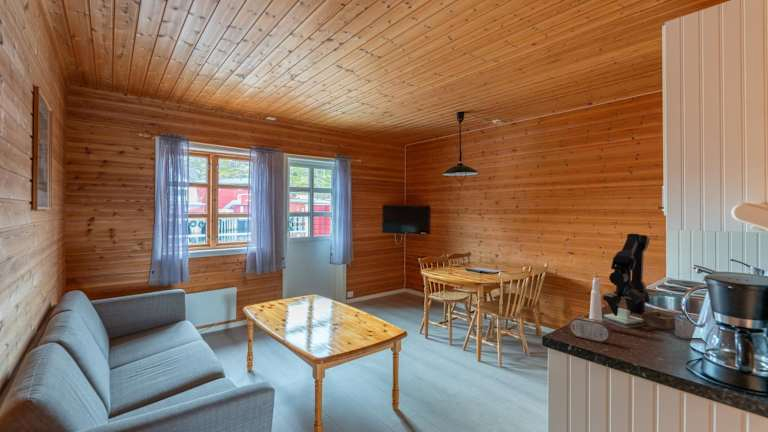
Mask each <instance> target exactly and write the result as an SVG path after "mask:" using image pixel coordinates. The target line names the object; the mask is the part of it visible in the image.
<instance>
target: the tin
mask: <svg viewBox="0 0 768 432" xmlns="http://www.w3.org/2000/svg"><path fill="white" fill-rule="evenodd" d="M568 327H569V331H570V332H571V334H573V336H575V337H577V338H579V337H580V339H583V338H584V339H583V340H587V339H588V341H592V342H596V341H597V343H606V342H608V341H610V339H611V338H612V335H613V330H612V329H611V326H610V325H609V324H608V323H607V322H606V321H603V320H602V321H600V320H594V319H589V317H584V316H574V317H572V319H571V320H570V322H569V323H568Z"/></svg>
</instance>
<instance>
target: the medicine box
mask: <svg viewBox="0 0 768 432" xmlns="http://www.w3.org/2000/svg"><path fill="white" fill-rule="evenodd" d="M685 315H686V314H675V315H674V316H675V328H674V335H675V336H677V337H679V338H680V339H691V338H692V335H693V333H694V330H695V325H694V324H692V323H691V322H690V321H689V320H688V319H687V317H686V316H685ZM689 315H690V317H691V318H692V319H693V320H694V321H695V322H697V321H698V318H699V317H700V316H698V315H695V314H689Z"/></svg>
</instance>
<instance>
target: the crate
mask: <svg viewBox="0 0 768 432" xmlns="http://www.w3.org/2000/svg"><path fill="white" fill-rule="evenodd" d="M641 319H644V320H643V321H641V323H644V324H647V326H648V325H649V326H652V327H656V328H658V329H661V330H664V329H665V330H672V329H675V315H674V314H670V313H667V312H662V311H660V310H656V311H655V310H654V311H653V310H652V311H646V312H645V313H642V314H641ZM671 328H672V329H671ZM665 330H664V331H665Z"/></svg>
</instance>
